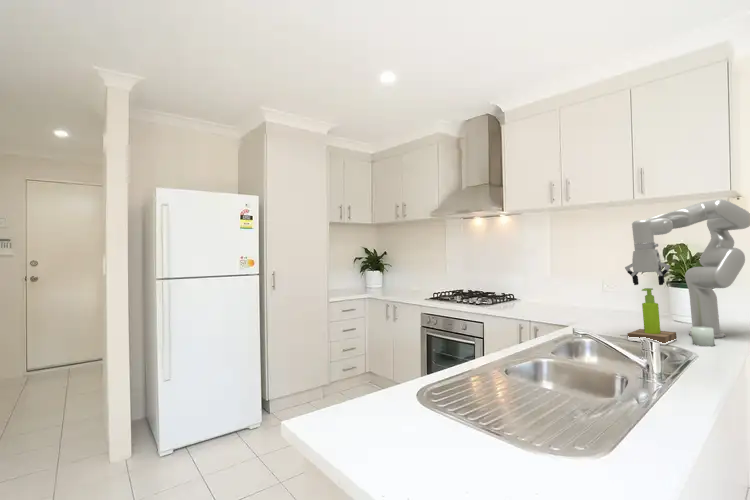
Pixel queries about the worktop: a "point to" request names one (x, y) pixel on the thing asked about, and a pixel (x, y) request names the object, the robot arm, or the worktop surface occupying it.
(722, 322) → the worktop surface
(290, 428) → the worktop surface
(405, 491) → the worktop surface
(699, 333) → the pale green rounded block
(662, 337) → the walnut plinth
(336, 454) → the worktop surface
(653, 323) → the soap dispenser
